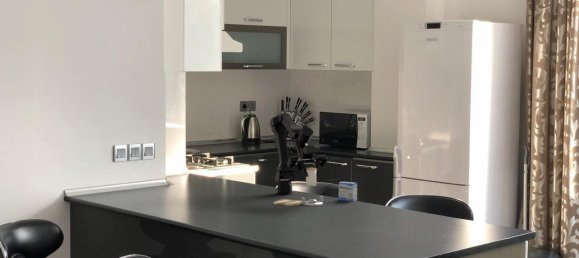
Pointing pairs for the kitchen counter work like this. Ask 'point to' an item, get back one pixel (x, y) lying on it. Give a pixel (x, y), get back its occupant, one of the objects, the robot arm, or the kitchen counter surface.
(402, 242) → the kitchen counter surface
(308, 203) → the clear glass bowl
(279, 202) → the board
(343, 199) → the medicine box
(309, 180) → the whitish cup
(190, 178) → the kitchen counter surface
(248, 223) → the kitchen counter surface
